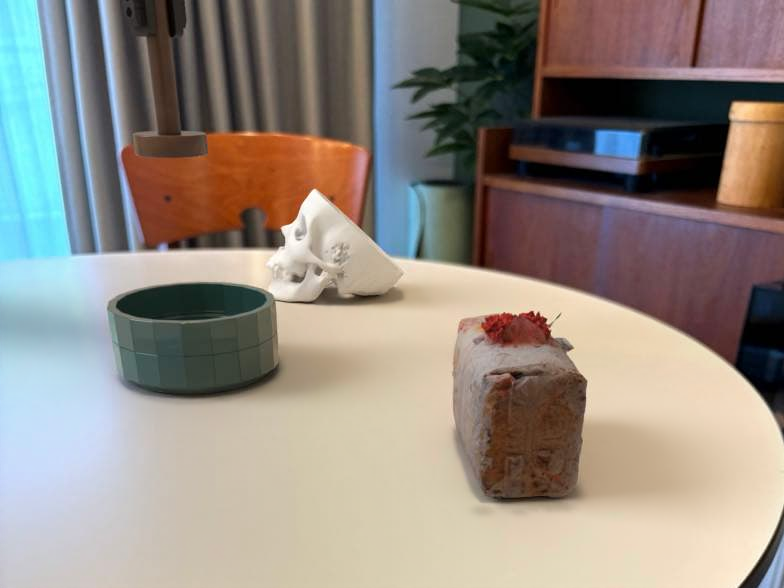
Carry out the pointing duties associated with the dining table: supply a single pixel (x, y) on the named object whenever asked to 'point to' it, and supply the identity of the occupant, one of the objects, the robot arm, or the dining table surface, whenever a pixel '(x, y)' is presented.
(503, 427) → the food item
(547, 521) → the dining table surface
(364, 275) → the skull bowl
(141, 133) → the brown masher
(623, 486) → the dining table surface
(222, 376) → the mixing bowl
